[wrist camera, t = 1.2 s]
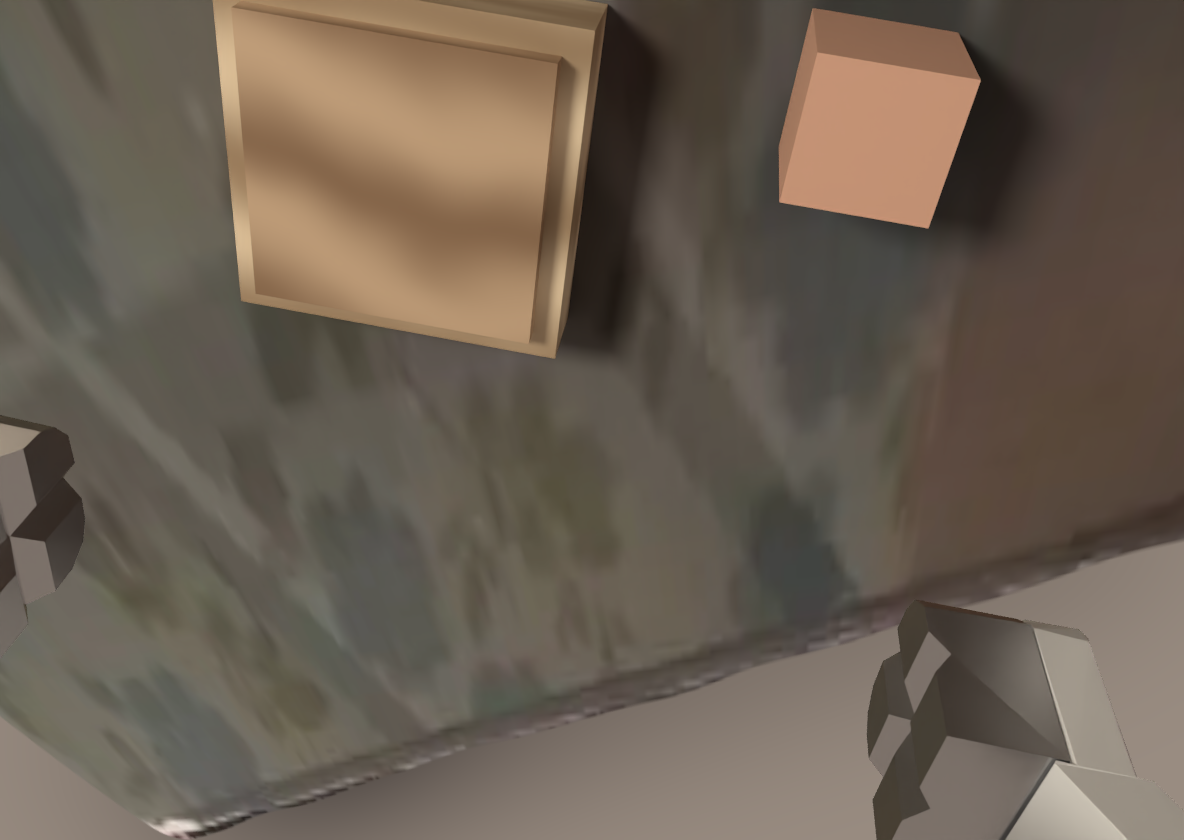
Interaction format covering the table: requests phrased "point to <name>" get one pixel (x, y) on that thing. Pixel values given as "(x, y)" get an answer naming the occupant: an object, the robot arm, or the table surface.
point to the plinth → (411, 159)
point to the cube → (874, 117)
